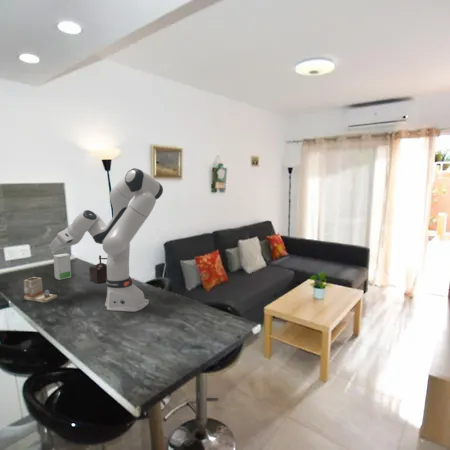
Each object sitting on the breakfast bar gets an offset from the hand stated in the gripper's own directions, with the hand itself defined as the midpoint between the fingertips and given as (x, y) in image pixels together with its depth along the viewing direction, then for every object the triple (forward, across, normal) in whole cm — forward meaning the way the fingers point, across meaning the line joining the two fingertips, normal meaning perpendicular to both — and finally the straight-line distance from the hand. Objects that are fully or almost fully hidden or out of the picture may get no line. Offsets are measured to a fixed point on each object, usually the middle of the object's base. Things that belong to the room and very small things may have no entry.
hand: (58, 250), depth 164 cm
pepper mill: (+12, -29, +24) cm, 40 cm away
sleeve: (+25, +7, +8) cm, 27 cm away
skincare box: (+32, -25, +4) cm, 41 cm away
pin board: (+23, +8, +13) cm, 27 cm away
